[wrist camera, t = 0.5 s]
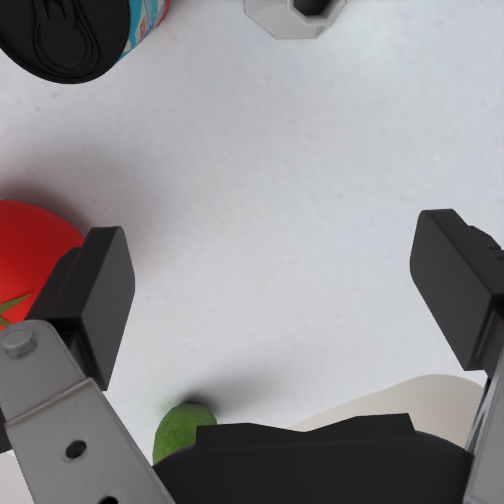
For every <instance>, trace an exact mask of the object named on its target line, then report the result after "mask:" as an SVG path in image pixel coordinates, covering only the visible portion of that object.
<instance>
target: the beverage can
mask: <svg viewBox="0 0 504 504" xmlns="http://www.w3.org/2000/svg"><path fill="white" fill-rule="evenodd" d="M169 2H170V0H0V48H1V49H2V51H3V52H4V53H5V54H6V55H7V56H8V57H9V58H10V59H12V60H13V61H14V62H15V63H16V64H18V65H19V66H20V67H22V68H23V69H25V70H26V71H28V72H29V73H31V74H33V75H35V76H37V77H39V78H42V79H44V80H47V81H51V82H55V83H60V84H80V83H85V82H88V81H91V80H94V79H96V78H98V77H100V76H102V75H103V74H105V73H106V72H107V71H108V70H109V69H111V68H112V67H113V66H114V65H115V64H116V63H117V62H118V61H119V60H121V59H122V58H123V57H124V56H125V55H126V54H128V53H129V52H130V51H131V50H132V49H133V48H134V47H135V46H137V45H138V44H139V43H140V42H141V41H142V40H143V39H144V38H145V37H146V36H147V35H148V34H150V33H151V32H152V31H153V30H154V29H155V28H156V27H158V26H159V24H160V23H161V22H162V20H163V19H164V17H165V15H166V13H167V10H168V7H169Z"/></svg>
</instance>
